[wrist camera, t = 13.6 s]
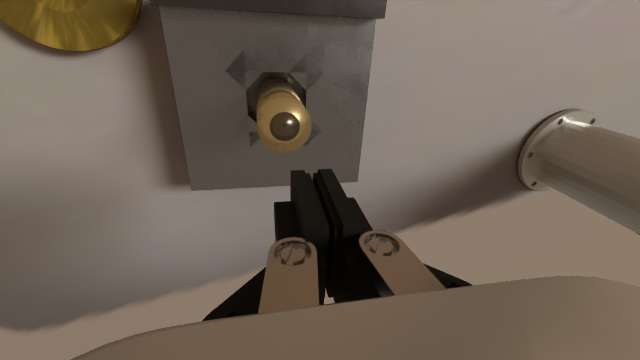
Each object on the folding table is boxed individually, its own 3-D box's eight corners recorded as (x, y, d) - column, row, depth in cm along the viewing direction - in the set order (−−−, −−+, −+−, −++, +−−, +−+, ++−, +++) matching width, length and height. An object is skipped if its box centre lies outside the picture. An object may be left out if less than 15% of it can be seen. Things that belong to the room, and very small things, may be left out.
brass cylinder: (295, 78, 30) (312, 99, 21) (295, 117, 32) (310, 151, 23) (255, 77, 29) (255, 99, 20) (257, 117, 31) (258, 153, 22)
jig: (361, 3, 30) (387, -3, 24) (346, 165, 38) (362, 190, 32) (169, -11, 26) (146, -21, 20) (198, 172, 34) (187, 200, 29)
